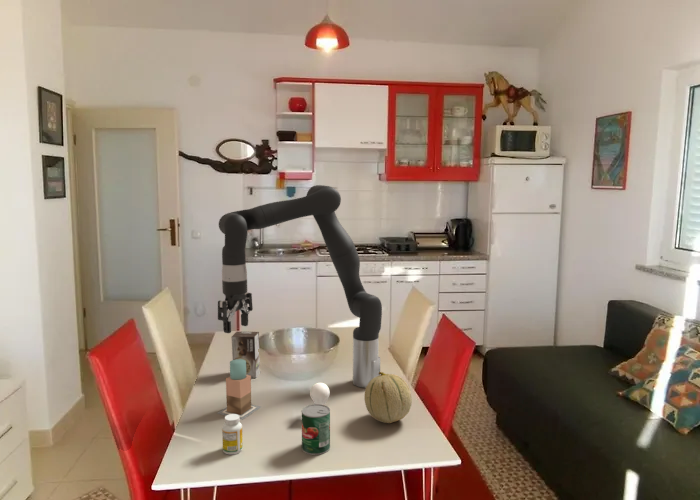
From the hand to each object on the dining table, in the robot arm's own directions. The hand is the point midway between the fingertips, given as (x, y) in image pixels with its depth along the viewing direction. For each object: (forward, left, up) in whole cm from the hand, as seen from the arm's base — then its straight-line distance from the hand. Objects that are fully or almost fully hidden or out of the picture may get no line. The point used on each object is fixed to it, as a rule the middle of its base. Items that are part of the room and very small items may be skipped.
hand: (236, 329), depth 163 cm
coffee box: (+17, -27, -28) cm, 42 cm away
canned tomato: (-33, +9, -28) cm, 44 cm away
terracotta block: (0, 0, -21) cm, 21 cm away
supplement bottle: (-13, +20, -28) cm, 36 cm away
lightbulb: (-25, -8, -28) cm, 38 cm away
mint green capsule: (0, 0, -16) cm, 16 cm away
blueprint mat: (0, 0, -27) cm, 27 cm away
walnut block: (0, 0, -27) cm, 27 cm away
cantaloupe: (-45, -15, -28) cm, 55 cm away
